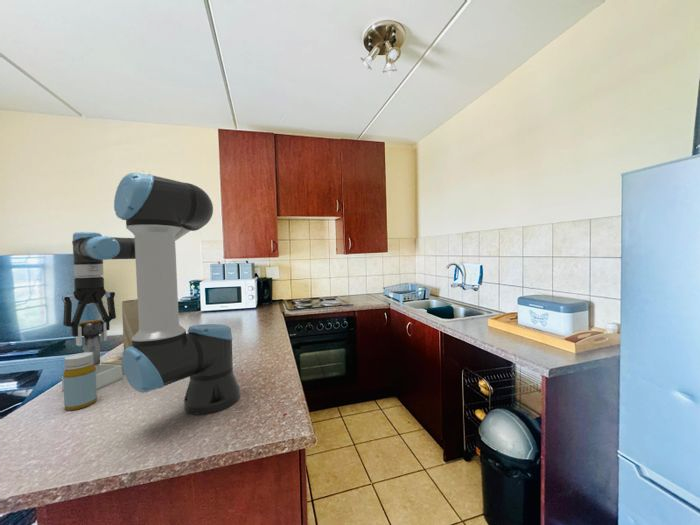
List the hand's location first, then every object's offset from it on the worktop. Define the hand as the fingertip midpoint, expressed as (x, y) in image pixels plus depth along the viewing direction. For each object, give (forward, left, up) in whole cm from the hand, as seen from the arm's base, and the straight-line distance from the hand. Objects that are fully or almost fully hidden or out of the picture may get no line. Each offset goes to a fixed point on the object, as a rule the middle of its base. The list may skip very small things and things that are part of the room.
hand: (91, 342), depth 97 cm
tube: (+29, +13, -15) cm, 35 cm away
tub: (0, 0, -15) cm, 15 cm away
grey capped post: (0, 0, -8) cm, 8 cm away
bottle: (-12, -11, -15) cm, 22 cm away
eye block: (+15, +2, -15) cm, 21 cm away
